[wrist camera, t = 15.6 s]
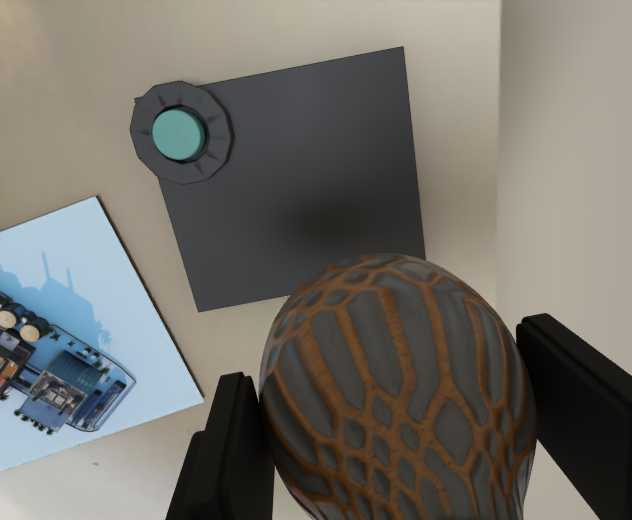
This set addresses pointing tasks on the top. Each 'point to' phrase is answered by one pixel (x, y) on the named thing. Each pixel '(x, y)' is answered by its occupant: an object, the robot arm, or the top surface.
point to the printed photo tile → (78, 338)
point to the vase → (396, 396)
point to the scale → (288, 174)
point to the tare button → (178, 134)
